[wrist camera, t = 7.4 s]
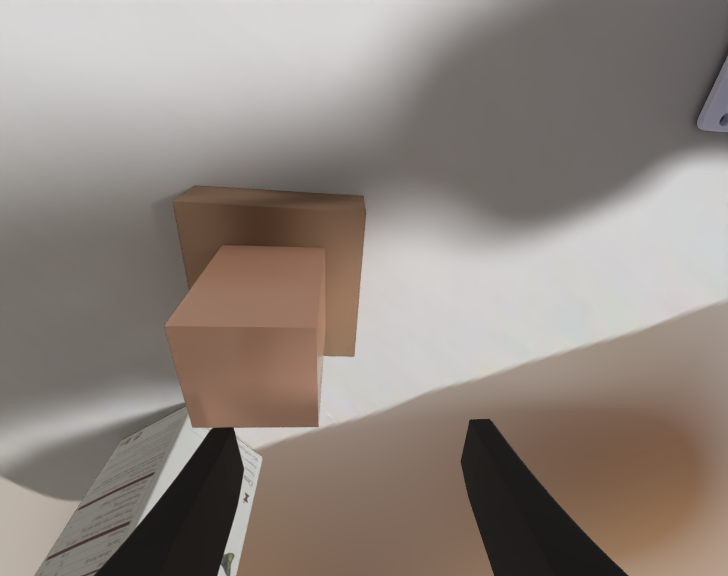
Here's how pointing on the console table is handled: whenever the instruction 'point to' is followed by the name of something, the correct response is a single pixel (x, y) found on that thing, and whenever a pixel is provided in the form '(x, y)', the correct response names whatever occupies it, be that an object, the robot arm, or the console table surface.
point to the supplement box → (141, 497)
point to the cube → (252, 338)
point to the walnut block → (282, 240)
